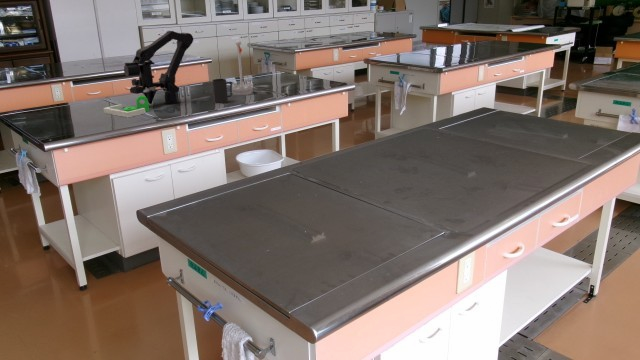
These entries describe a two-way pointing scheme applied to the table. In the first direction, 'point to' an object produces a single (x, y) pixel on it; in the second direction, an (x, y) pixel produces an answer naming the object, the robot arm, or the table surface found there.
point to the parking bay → (117, 111)
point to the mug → (221, 90)
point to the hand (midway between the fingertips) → (150, 103)
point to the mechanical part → (139, 105)
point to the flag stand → (241, 88)
